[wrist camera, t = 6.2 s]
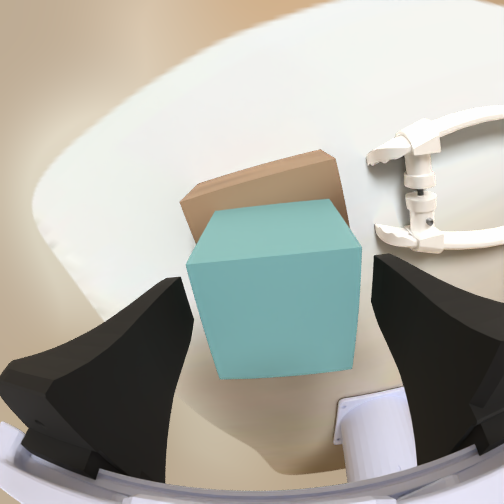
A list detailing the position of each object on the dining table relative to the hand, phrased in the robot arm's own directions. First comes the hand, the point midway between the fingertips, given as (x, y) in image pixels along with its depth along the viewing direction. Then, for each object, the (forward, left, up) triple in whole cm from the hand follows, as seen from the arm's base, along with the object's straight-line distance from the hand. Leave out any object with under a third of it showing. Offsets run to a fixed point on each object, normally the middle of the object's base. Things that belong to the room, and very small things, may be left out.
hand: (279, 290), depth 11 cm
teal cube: (0, 0, -3) cm, 3 cm away
